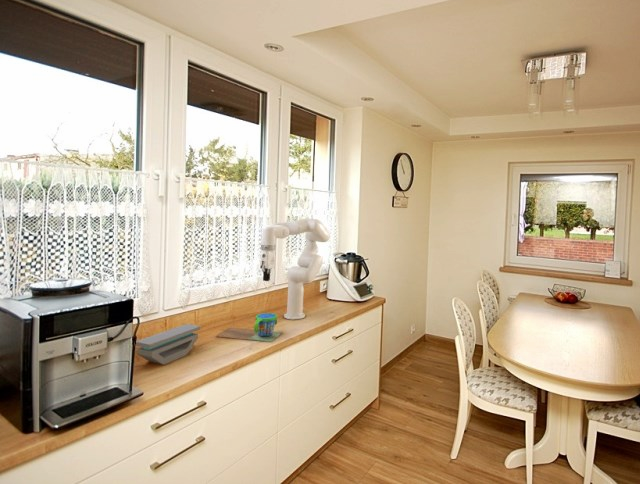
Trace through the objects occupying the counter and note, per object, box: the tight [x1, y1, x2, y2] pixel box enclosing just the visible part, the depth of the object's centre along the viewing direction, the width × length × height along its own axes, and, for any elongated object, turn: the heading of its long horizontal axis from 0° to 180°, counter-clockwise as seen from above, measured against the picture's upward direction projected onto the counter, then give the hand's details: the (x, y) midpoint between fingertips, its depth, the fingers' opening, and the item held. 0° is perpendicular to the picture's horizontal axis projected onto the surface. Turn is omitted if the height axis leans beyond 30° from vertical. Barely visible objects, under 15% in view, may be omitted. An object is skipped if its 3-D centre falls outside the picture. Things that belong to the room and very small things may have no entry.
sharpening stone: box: [135, 323, 201, 366], centre depth 157 cm, size 25×8×11 cm, turn 164°
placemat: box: [216, 327, 282, 343], centre depth 190 cm, size 13×29×1 cm, turn 85°
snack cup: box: [253, 312, 278, 336], centre depth 191 cm, size 16×10×10 cm
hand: (266, 280), depth 200 cm, fingers closed
